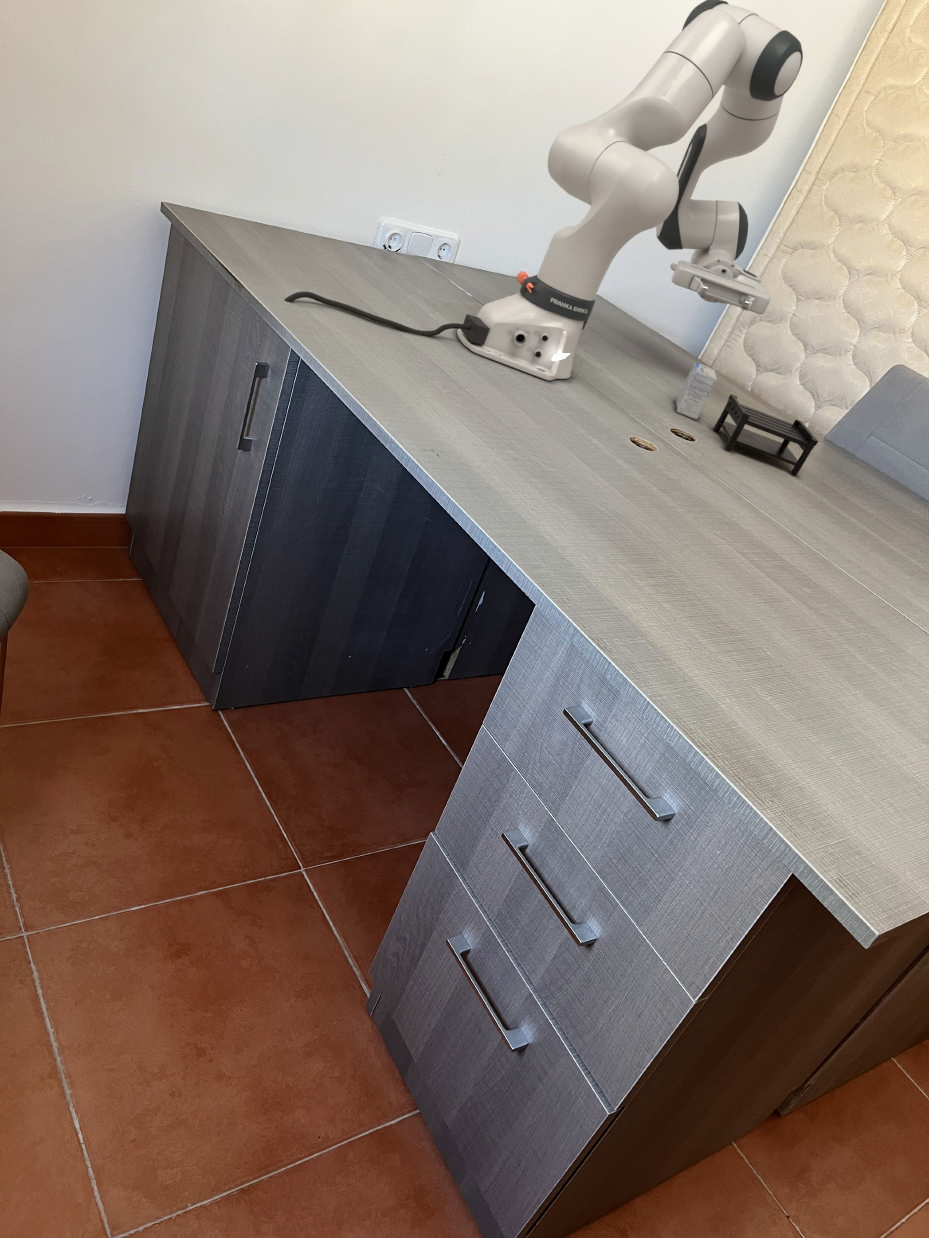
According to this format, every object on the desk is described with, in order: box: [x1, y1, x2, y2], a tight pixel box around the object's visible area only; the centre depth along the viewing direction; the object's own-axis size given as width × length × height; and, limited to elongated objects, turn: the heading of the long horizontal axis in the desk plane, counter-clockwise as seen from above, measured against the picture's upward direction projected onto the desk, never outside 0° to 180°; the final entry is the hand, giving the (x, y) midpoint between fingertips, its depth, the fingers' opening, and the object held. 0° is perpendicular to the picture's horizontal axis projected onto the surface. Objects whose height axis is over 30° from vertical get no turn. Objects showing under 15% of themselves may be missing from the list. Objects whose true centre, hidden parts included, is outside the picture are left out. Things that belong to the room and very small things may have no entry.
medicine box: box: [675, 362, 718, 421], centre depth 182 cm, size 8×4×9 cm, turn 168°
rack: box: [712, 394, 819, 477], centre depth 175 cm, size 15×11×7 cm
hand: (725, 298), depth 183 cm, fingers open, 8 cm apart
